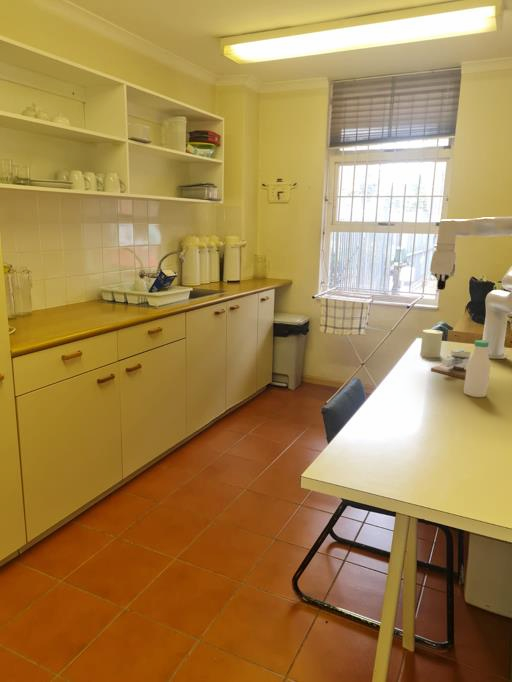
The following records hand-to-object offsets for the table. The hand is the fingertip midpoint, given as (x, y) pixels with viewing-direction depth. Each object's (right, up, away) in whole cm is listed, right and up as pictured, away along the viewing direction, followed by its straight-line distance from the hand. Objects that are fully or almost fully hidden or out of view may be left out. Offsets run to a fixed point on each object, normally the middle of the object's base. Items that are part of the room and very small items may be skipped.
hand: (440, 289), depth 228 cm
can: (-1, -30, +13) cm, 33 cm away
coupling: (-1, -34, -17) cm, 38 cm away
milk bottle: (-3, -43, -43) cm, 61 cm away
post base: (+2, -36, -14) cm, 39 cm away
